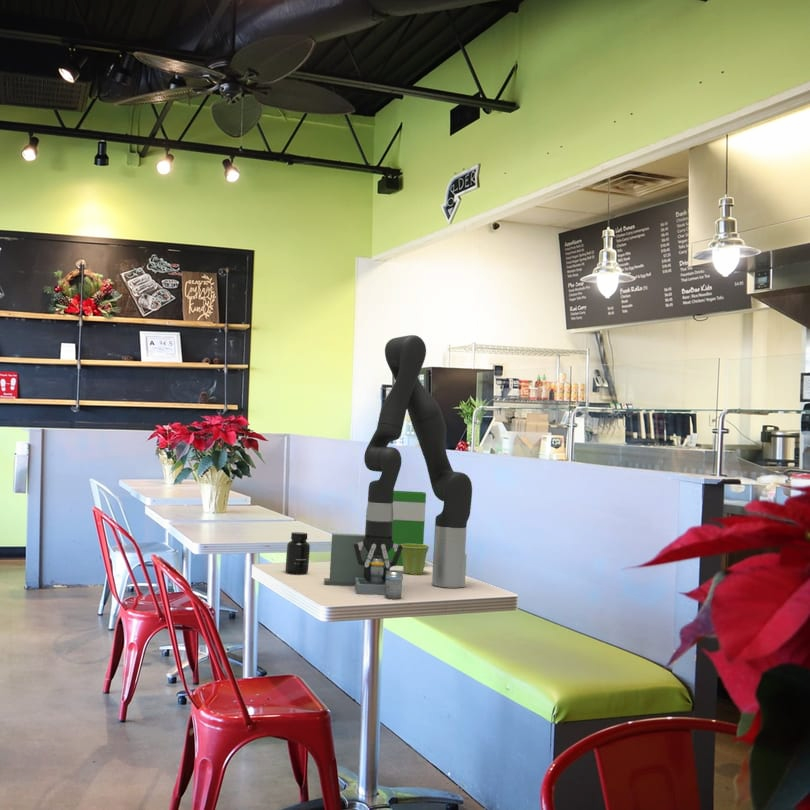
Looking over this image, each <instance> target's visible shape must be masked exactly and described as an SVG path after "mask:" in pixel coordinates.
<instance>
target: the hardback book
mask: <svg viewBox="0 0 810 810" xmlns="http://www.w3.org/2000/svg"><path fill="white" fill-rule="evenodd" d="M393 494H394V496H393V516H394V518H393V531H392V540H393V542H394V543H395V544H398V545H399V544H422V545H424V540H425V539H424V538H425V521H426V501H427V493H426V491H425V492H424V491H408V490H394V493H393ZM394 554H395V551H394V547H392V548H391V549H390V550H389V552H388V553H387V555H388V559H389V562H391V561H392V560H393V557H394ZM395 567H403V559H402V551H401V554H400V557H399V559H398V562H397V565H396V566H395Z"/></svg>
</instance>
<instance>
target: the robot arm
mask: <svg viewBox="0 0 810 810" xmlns="http://www.w3.org/2000/svg"><path fill="white" fill-rule="evenodd" d="M426 346H427V345H426V343H425V342H424V340H423V339H422V337H420V336H418V335H415V334H411V335H404V336H399V337H393V338H391V339H389V340H388V341H387V342H386V344H385V348H384V355H385V360H386V363H387V366H388V368H389V370H390V372H391V375H392V377H393V379H394V381H395V382H394V384H393V385H392V387H391V389H390V391H389V392H388V395H386V398H385V399H384V401H383V404H382V406H381V409H380V413H379V416H378V421H377V426H376V430H375V431H374V433H373V434H372V437H371V438H370V440H369V442H368V445H367V446H366V450H365V451H364V455H363V457H364V458H363V461H364V465H365V467H366V468H367V469H368V471H372V472H380V476H379V479H377V480H376V479H375V480H371V481H370V482H369V485H368V489H367V490H368V493H367V495H368V496H367V506H366V511H365V529H364V531H365V532H364V535H365V538H364V540H363V542H359V543H354V549H355V553H356V557H357V561H358V564H359V565H362V566H364V579H366V581H369V569H370V568H369V564H370V561H371V559H372V556H377V555H379V556H383V558H384V561H385V573H384V582H386V579H385V577H386V571H388V570H391V568H392V567H397V566H396V565H397V562H398V559H399V557H400V554H401V551H402V548H403V547H402V545H401V544H399V545H398V544H395V543H394V542H393V540H392V531H393V518H394V516H393V496H394V494H393V493H394V491H395V490H394V489H395V486H396V484H397V480H398V477H399V473H400V471H401V466H402V455H401V453H400V451H399V449H398V448H396V447H394V446H393V447H392V446H389V444H390V443H391V442H394V441H396V440H399V439H400V438H401V435H402V433H403V427H404V424H405V417H406V413H408V416H409V420H410V423H411V426H412V428H413V430H414V434H415V436H416V439H417V441H418V443H419V444H418V445H419V447H420V450H421V453H422V456H423V458H424V462H425V465H426V469H427V473H428V478H429V481H430V485H431V486H430V487H431V488H432V492H433V493H434V495H435V497H436V498H437V499H438V500H439V501H441V502H443V507H442V511H441V512H440V513H439V514H437V515H436V517H435V519H434V536H433V537H434V539H433V555H432V556H433V558H432V559H433V560H432V574H431V585H433V586H435V587H439V588H441V587H442V588H451V589H454V588H455V589H456V588H457V589H458V588H466V587H465V586H466V574H467V573H466V571H467V554H466V547H467V546H466V544H467V523H468V520H469V518H470V515H471V509H472V508H471V507H472V499H473V486H472V485H473V484H472V481H471V479H470V477H469V475H467V474H466V473H464V472H461V471H454V470H453V468H452V465H451V463H450V461H449V458H448V454H447V453H448V452H447V450H446V449H447V425H446V421H445V419H444V418H445V417H444V416H443V413H442V410H441V407H440V405H439V403H438V402H437V400H436V399H435V397H433V395H432V394H431V393H430V392H429V390H427V388H426V387H425V386H424V384H422V382H421V381H420V379H419V375H420V373H421V370H422V367H423V365H424V363H425V359H426V356H427V347H426ZM363 545H364V546H365V548H366V549H367V551H368V553H367V556H366V559H365V561H363V560H362V558H361V554H360V550H361V549H362V546H363ZM392 547H394V551H395V554H394V557H393V560H392V561H391V562H389V559H388V555H387V553H388V552H389V550H390V549H391V548H392Z"/></svg>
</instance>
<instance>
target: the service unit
mask: <svg viewBox="0 0 810 810" xmlns="http://www.w3.org/2000/svg"><path fill="white" fill-rule="evenodd" d="M364 538H365V534H362V533H361V534H359V533H357V534H356V533H338V532H337V533H336V532H335V533H334V532H332V533H331V545H330V563H329V564H330V565H329V578H327V577H326V578H323V585H325V586H344V587H345V586H348V587H349V586H350V587H355V578H364V566H362V565H359V564H358V561H357V557H356V553H355V549H354V543H359V542H363V540H364ZM367 553H368V551H367V549H366V548H365V546H364V545H363V546H362V549H361V550H360V554H361V558H362V560H363V561H365V559H366V556H367ZM377 556H378V557H383V556H379V555H377Z"/></svg>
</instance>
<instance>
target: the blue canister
mask: <svg viewBox="0 0 810 810" xmlns="http://www.w3.org/2000/svg"><path fill="white" fill-rule="evenodd" d="M403 573H404V571H401V570H396V569H395V570H393V569H390V570H388V571H386V577H385V579H386V584H385V595H384V599H386V600H391V599H392V601H394V600H396V601H399V600H401V599H402V594H403V593H402V591H403V580H404V574H403ZM398 599H399V600H398Z"/></svg>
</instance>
